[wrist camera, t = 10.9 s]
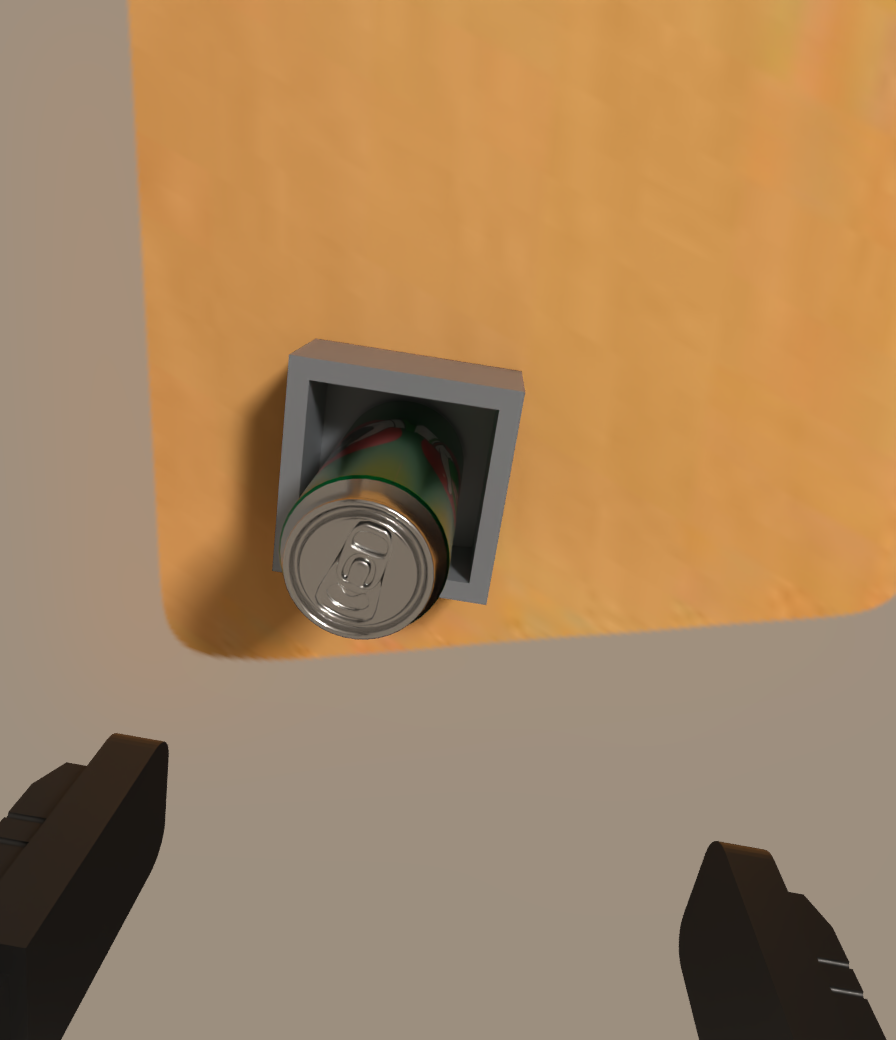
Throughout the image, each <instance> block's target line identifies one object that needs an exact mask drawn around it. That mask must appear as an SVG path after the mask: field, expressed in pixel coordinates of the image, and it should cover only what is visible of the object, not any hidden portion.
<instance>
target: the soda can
mask: <svg viewBox="0 0 896 1040" xmlns="http://www.w3.org/2000/svg"><path fill="white" fill-rule="evenodd" d="M463 467H464V456H463V450H462V446H461V443H460V440H459V438H458V436H457V434H456V432H455V430H454V429H453V427H452V426H451V425H450V423H449V422H448V421H447V420H446V419H445V418H444V417H443V416H442V415H440V414H439V413H438V412H436V411H435V410H433V409H431V408H429V407H427V406H425V405H422V404H419V403H416V402H410V401H391V402H386V403H383V404H380V405H377V406H375V407H373V408H371V409H369V410H368V411H366V412H365V413H364V414H362V415H361V416H360V417H359V418H358V419H357V420H356V421H355V422H354V424H353V425H352V426H351V428H350V429H349V430H348V432H347V433H346V435H345V436H344V437H343V439H342V440H341V441H340V443H339V444H338V446H337V447H336V448H335V450H334V451H333V452H332V454H331V455H330V457H329V458H328V459H327V461H326V462H325V463H324V465H323V466H322V467H321V469H320V470H319V472H318V473H317V474H316V476H315V477H314V478H313V480H312V481H311V483H310V484H309V485H308V487H307V488H306V489H305V491H304V492H303V493H302V495H301V496H300V498H299V499H298V500H297V502H296V503H295V504H294V506H293V507H292V509H291V510H290V512H289V513H288V515H287V517H286V520H285V522H284V524H283V527H282V531H281V535H280V541H279V558H280V565H281V569H282V572H283V576H284V580H285V584H286V587H287V590H288V592H289V594H290V596H291V598H292V600H293V601H294V603H295V605H296V606H297V607H298V609H299V610H300V611H301V612H302V613H303V614H304V615H305V616H306V617H307V618H308V619H309V620H310V621H311V622H313V623H314V624H316V625H317V626H319V627H320V628H322V629H324V630H326V631H328V632H330V633H332V634H335V635H338V636H341V637H345V638H351V639H375V638H381V637H384V636H388V635H391V634H393V633H395V632H398V631H400V630H401V629H403V628H404V627H406V626H407V625H409V624H411V623H413V622H414V621H416V620H417V619H419V618H420V617H422V616H423V615H424V614H425V613H426V612H427V611H428V610H429V609H430V608H431V607H432V606H433V605H434V603H435V602H436V601H437V600H438V598H439V596H440V594H441V593H442V591H443V589H444V586H445V584H446V581H447V578H448V573H449V567H450V560H451V553H452V546H453V539H454V532H455V524H456V517H457V510H458V503H459V496H460V489H461V482H462V474H463Z"/></svg>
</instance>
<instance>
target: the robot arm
mask: <svg viewBox="0 0 896 1040" xmlns="http://www.w3.org/2000/svg"><path fill="white" fill-rule="evenodd" d="M168 752H169V750H168V745H167V743H166V742H163V741H158V740H152V739H147V738H141V737H135V736H130V735H123V734H118V733H114V734H112V735H111V736H110V737H109V738H108V739H107V740H106V742H105V743H104V744H103V746H102V747H101V749H100V750H99V751H98V752H97V754H96V755H95V756H94V758H93V759H92V760H91V761H90V763H89V764H88V765H87V766H83V765H78V764H72V763H65V764H64V765H62V766H60V767H58V768H57V769H55V770H54V771H52V772H50V773H49V774H47V775H46V776H44V777H43V778H41V779H39V780H37V781H36V782H34V783H33V784H31V786H30V787H29V788H28V789H27V791H26V792H25V793H24V794H23V795H22V797H21V798H20V799H19V800H18V801H17V802H16V804H15V805H14V806H13V807H12V808H11V810H10V811H9V813H8V816H7V818H5V817H4V818H3V819H2V820H1V822H0V1040H61V1039H62V1037H63V1035H64V1033H65V1031H66V1029H67V1027H68V1026H69V1024H70V1022H71V1020H72V1018H73V1016H74V1014H75V1012H76V1011H77V1009H78V1007H79V1005H80V1003H81V1001H82V999H83V998H84V996H85V994H86V992H87V990H88V988H89V986H90V985H91V983H92V981H93V979H94V977H95V975H96V973H97V971H98V969H99V968H100V966H101V964H102V962H103V960H104V958H105V956H106V955H107V953H108V951H109V949H110V947H111V945H112V943H113V942H114V940H115V938H116V936H117V934H118V932H119V930H120V929H121V927H122V925H123V923H124V921H125V919H126V917H127V916H128V914H129V912H130V910H131V908H132V906H133V904H134V903H135V900H136V899H137V897H138V895H139V893H140V891H141V889H142V888H143V886H144V884H145V882H146V880H147V878H148V876H149V875H150V873H151V870H152V869H153V866H154V864H155V861H156V859H157V856H158V853H159V850H160V846H161V843H162V838H163V833H164V826H165V811H166V793H167V776H168V775H167V774H168V757H169V753H168ZM679 957H680V964H681V969H682V973H683V977H684V981H685V985H686V989H687V993H688V997H689V1001H690V1005H691V1009H692V1013H693V1017H694V1021H695V1025H696V1029H697V1033H698V1037H699V1040H886V1038H885V1036H884V1034H883V1032H882V1029H881V1027H880V1025H879V1023H878V1021H877V1019H876V1017H875V1015H874V1013H873V1011H872V1009H871V1007H870V1004H869V1002H868V1000H867V999H864V998H863V990H862V988H861V986H860V984H859V982H858V980H857V978H856V975H855V973H854V971H853V969H849V961H848V959H847V957H846V955H845V952H844V950H843V948H842V946H841V944H840V942H839V940H838V938H837V936H836V934H835V932H834V930H833V928H832V926H831V925H830V924H829V923H828V922H827V921H826V920H825V918H824V917H823V916H822V915H821V914H820V913H819V912H818V911H817V909H816V908H815V907H814V906H813V905H812V904H811V903H810V902H809V900H808V899H807V898H806V897H805V896H804V895H802V894H797V893H791V892H788V891H787V888H786V886H785V884H784V882H783V879H782V877H781V875H780V872H779V870H778V868H777V865H776V863H775V861H774V859H773V857H772V855H771V854H770V853H769V852H768V851H767V850H764V849H758V848H752V847H747V846H741V845H736V844H730V843H724V842H719V841H714V842H712V843H711V844H710V845H709V847H708V849H707V852H706V853H705V856H704V860H703V862H702V865H701V867H700V870H699V873H698V876H697V879H696V882H695V884H694V887H693V890H692V893H691V895H690V898H689V901H688V904H687V906H686V909H685V912H684V915H683V918H682V922H681V927H680V934H679Z"/></svg>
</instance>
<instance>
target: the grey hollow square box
mask: <svg viewBox="0 0 896 1040" xmlns="http://www.w3.org/2000/svg"><path fill="white" fill-rule="evenodd" d="M524 395H525V388H524V382H523V377H522V371H517V370H510V369H504V368H498V367H491V366H485V365H479V364H472V363H466V362H460V361H454V360H447V359H441V358H435V357H428V356H422V355H416V354H409V353H403V352H397V351H390V350H384V349H378V348H372V347H365V346H359V345H353V344H346V343H340V342H334V341H327V340H321V339H314V340H313V341H311V342H309V343H308V344H306V345H304V346H303V347H301V348H299V349H298V350H296V351H294V352H293V353H291V354H289V363H288V376H287V389H286V402H285V414H284V427H283V440H282V453H281V466H280V479H279V491H278V504H277V517H276V530H275V543H274V556H273V568H272V571H277V572H282V569H281V565H280V558H279V541H280V535H281V531H282V527H283V524H284V522H285V520H286V517H287V515H288V513H289V512H290V510H291V509H292V507H293V506H294V504H295V503H296V502H297V500H298V499H299V498H300V496H301V495H302V493H303V492H304V491H305V489H306V488H307V487H308V485H309V484H310V483H311V481H312V480H313V478H314V477H315V476H316V474H317V473H318V472H319V470H320V469H321V467H322V466H323V465H324V463H325V462H326V461H327V459H328V458H329V457H330V455H331V454H332V452H333V451H334V450H335V448H336V447H337V446H338V444H339V443H340V441H341V440H342V439H343V437H344V436H345V435H346V433H347V432H348V430H349V429H350V428H351V426H352V425H353V424H354V422H355V421H356V420H357V419H358V418H359V417H360V416H361V415H362V414H364V413H365V412H366V411H368V410H369V409H371V408H373V407H375V406H377V405H380V404H383V403H386V402H391V401H410V402H416V403H419V404H422V405H425V406H427V407H429V408H431V409H433V410H435V411H436V412H438V413H439V414H440V415H442V416H443V417H444V418H445V419H446V420H447V421H448V422H449V423H450V425H451V426H452V427H453V429H454V430H455V432H456V434H457V436H458V438H459V440H460V443H461V446H462V450H463V456H464V467H463V474H462V482H461V489H460V496H459V503H458V510H457V517H456V524H455V532H454V539H453V546H452V553H451V560H450V567H449V573H448V578H447V581H446V584H445V586H444V589H443V591H442V593H441V594H440V596H439V597H440V598H446V599H452V600H459V601H465V602H471V603H477V604H484V605H486V603H487V598H488V592H489V587H490V581H491V576H492V570H493V565H494V559H495V554H496V548H497V543H498V538H499V532H500V527H501V521H502V516H503V510H504V505H505V499H506V494H507V488H508V483H509V477H510V472H511V466H512V461H513V456H514V450H515V445H516V439H517V434H518V428H519V423H520V417H521V412H522V406H523V401H524Z"/></svg>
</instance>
